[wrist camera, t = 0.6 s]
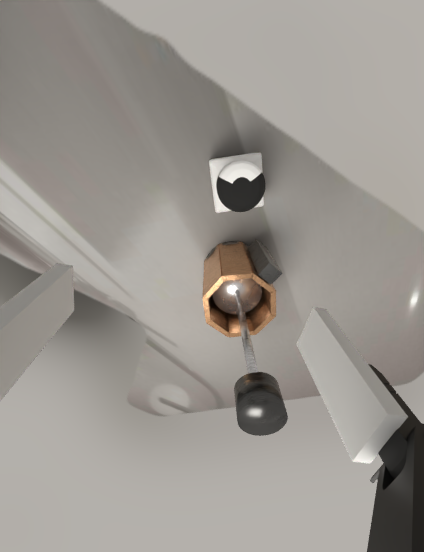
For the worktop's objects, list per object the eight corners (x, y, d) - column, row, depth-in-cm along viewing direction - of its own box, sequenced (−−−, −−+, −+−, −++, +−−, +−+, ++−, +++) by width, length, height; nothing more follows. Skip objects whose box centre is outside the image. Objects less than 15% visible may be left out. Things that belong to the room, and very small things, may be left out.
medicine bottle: (256, 199, 44) (272, 213, 33) (214, 205, 44) (216, 221, 33) (253, 152, 41) (269, 151, 30) (208, 159, 41) (208, 160, 30)
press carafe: (193, 271, 49) (187, 312, 36) (236, 220, 45) (247, 245, 32) (234, 301, 52) (243, 348, 39) (279, 255, 48) (304, 291, 35)
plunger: (202, 294, 41) (195, 424, 21) (234, 259, 38) (260, 368, 18) (238, 319, 43) (264, 459, 23) (271, 287, 40) (330, 413, 21)
